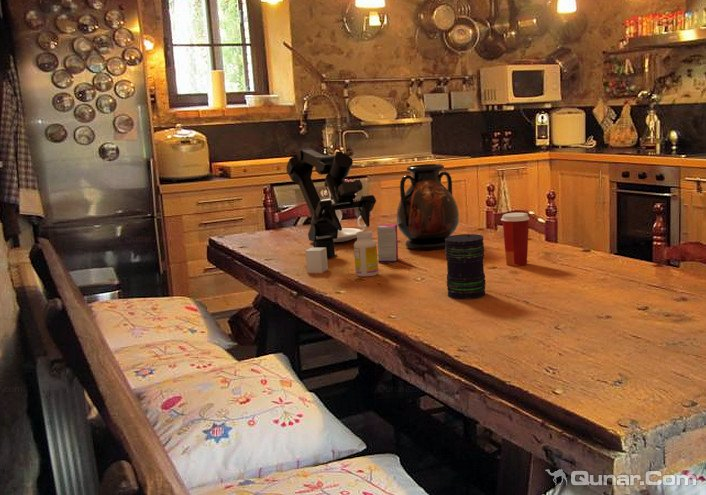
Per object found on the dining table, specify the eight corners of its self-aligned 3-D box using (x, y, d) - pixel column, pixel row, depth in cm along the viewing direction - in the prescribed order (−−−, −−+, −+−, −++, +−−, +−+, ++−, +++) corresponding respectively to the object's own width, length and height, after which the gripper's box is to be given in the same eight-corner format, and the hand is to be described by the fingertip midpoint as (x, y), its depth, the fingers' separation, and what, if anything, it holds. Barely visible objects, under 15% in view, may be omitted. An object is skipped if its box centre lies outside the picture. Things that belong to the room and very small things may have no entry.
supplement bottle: (381, 272, 229) (378, 230, 226) (374, 277, 223) (371, 234, 220) (359, 272, 231) (357, 230, 229) (352, 277, 225) (349, 234, 222)
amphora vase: (444, 238, 278) (440, 161, 273) (471, 247, 258) (468, 164, 253) (389, 245, 271) (384, 166, 266) (412, 255, 251) (408, 170, 246)
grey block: (307, 272, 235) (305, 250, 234) (313, 269, 240) (311, 247, 238) (322, 273, 233) (320, 250, 232) (327, 269, 238) (326, 247, 237)
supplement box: (396, 262, 242) (394, 226, 239) (378, 262, 243) (376, 227, 241) (399, 258, 247) (397, 223, 245) (381, 259, 248) (379, 224, 246)
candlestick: (383, 239, 284) (378, 164, 279) (322, 248, 274) (316, 170, 269) (358, 232, 303) (354, 162, 297) (300, 241, 292) (295, 168, 287)
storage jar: (476, 301, 189) (474, 241, 186) (440, 298, 194) (438, 240, 191) (491, 291, 197) (489, 234, 194) (456, 289, 202) (454, 233, 200)
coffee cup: (533, 261, 229) (532, 212, 226) (527, 267, 222) (526, 216, 219) (505, 260, 233) (504, 212, 230) (499, 266, 225) (497, 216, 223)
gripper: (316, 174, 229) (333, 215, 221) (372, 168, 236) (390, 208, 229) (308, 197, 238) (324, 238, 230) (362, 191, 245) (379, 230, 238)
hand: (355, 228), depth 231 cm, fingers open, 9 cm apart
